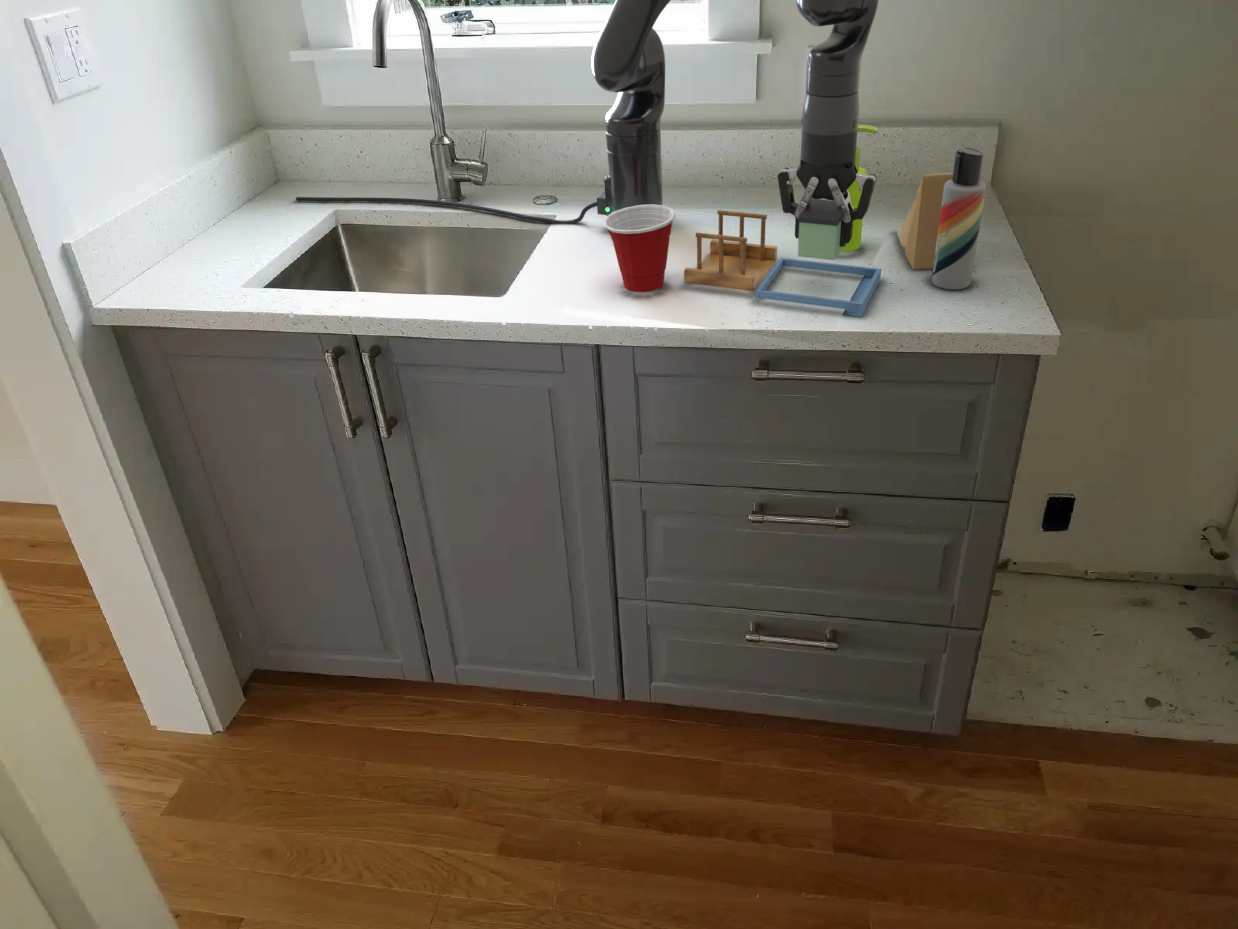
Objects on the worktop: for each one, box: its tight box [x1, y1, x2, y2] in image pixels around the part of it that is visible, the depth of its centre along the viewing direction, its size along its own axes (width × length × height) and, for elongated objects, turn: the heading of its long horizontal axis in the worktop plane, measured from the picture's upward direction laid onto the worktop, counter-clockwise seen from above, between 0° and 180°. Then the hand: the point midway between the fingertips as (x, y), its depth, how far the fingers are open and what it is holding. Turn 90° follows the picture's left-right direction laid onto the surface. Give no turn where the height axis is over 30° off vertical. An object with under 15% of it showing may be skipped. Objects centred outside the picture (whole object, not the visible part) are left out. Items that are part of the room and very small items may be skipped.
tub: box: [797, 199, 843, 261], centre depth 142 cm, size 6×8×6 cm
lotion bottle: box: [931, 147, 987, 291], centre depth 142 cm, size 6×6×20 cm
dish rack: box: [683, 209, 778, 292], centre depth 152 cm, size 11×13×9 cm
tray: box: [755, 257, 882, 318], centre depth 147 cm, size 16×13×2 cm
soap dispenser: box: [831, 124, 879, 253], centre depth 154 cm, size 6×7×20 cm
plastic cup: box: [602, 204, 676, 293], centre depth 148 cm, size 11×11×12 cm
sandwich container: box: [896, 171, 982, 270], centre depth 154 cm, size 9×15×15 cm, turn 176°
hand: (822, 242), depth 143 cm, fingers closed on tub, 5 cm apart
